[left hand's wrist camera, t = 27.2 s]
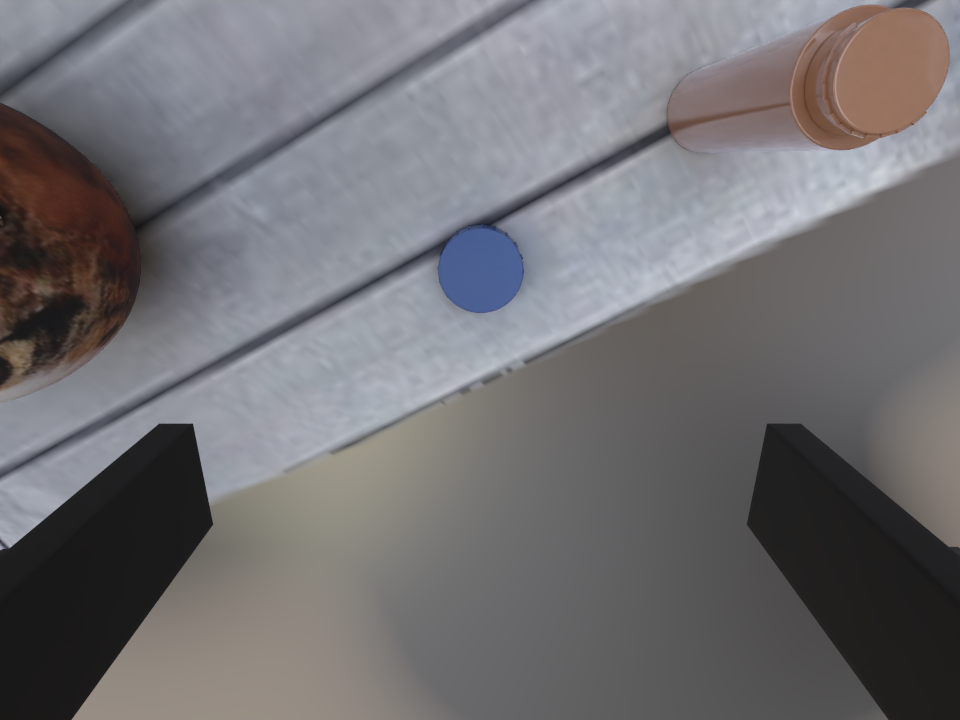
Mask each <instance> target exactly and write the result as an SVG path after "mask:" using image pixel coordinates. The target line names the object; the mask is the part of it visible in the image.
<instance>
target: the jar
mask: <svg viewBox="0 0 960 720" xmlns="http://www.w3.org/2000/svg"><path fill="white" fill-rule="evenodd" d="M949 57H950V55H949V45H948V40H947V37H946V34H945V32H944V30H943V28H942V27H941V25H940V24H939V23H938V21H937V20H935V19H934V18H933V17H932V16H931V15H929V14H927V13H926V12H923V11H921V10H918V9H913V8H895V9H891V8H889V7H885V6H881V5H861V6H857V7H853V8H850V9H847V10H845V11H842V12H840V13H837V14H835V15H832V16H830V17H827V18H825V19H822V20H820V21H817V22H815V23H812V24H810V25H807V26H805V27H802V28H800V29H797V30H795V31H792V32H790V33H787V34H785V35H782V36H780V37H777V38H775V39H772V40H770V41H767V42H765V43H762V44H760V45H757V46H755V47H752V48H750V49H747V50H745V51H742V52H740V53H737V54H735V55H732V56H730V57H727V58H725V59H722V60H720V61H717V62H715V63H712V64H710V65H707V66H705V67H702V68H700V69H697V70H695V71H693V72H691V73H690V74H688V75H687V76H686V77H685V78H684V79H682V80H681V82H680V83H679V84H678V85H677V87H676V88H675V89H674V91H673V93H672V95H671V98H670V100H669V104H668V109H667V122H668V127H669V130H670V133H671V134H672V136H673V138H674V139H675V141H676V142H677V143H678V144H679V145H681V146H682V147H683V148H685V149H687V150H689V151H692V152H699V153H710V152H767V151H823V150H850V149H854V148H859V147H861V146H864V145H867V144H869V143H871V142H873V141H875V140H877V139H878V138H882V137H885V136H889V135H892V134H895V133H899V132H901V131H902V130H904V129H906V128H907V127H909V126H911V125H914V124H915V123H916V122H917V121H918V120H919V119H920V118H922V117H923V116H924V115H925V114H926V113H927V112H926V110H927V109H928V108H929V107H930V105H931V104H932V103H933V101H934V100H935V99H936V97H937V96H938V94H939V92H940V90H941V88H942V86H943V84H944V81H945V78H946V75H947V72H948V67H949Z"/></svg>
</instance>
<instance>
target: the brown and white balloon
mask: <svg viewBox="0 0 960 720" xmlns="http://www.w3.org/2000/svg"><path fill="white" fill-rule="evenodd" d="M140 274H141V258H140V250H139V243H138V239H137V235H136V232H135V229H134V226H133V223H132V220H131V218H130V216H129V214H128V212H127V210H126V208H125V206H124V204H123V203H122V201H121V199H120V198H119V196H118V194H117V193H116V191H115V190H114V188H113V187H112V186H111V185H110V183H109V182H108V181H107V180H106V178H105V177H104V176H103V175H102V174H101V173H100V171H99V170H98V169H97V168H96V167H95V166H94V165H93V164H92V163H91V162H90V161H89V160H88V159H87V158H86V157H84V156H83V155H82V154H81V153H80V152H79V151H78V150H77V149H76V148H74V147H73V146H72V145H70V144H69V143H68V142H66V141H65V140H64V139H62V138H61V137H60V136H58V135H57V134H56V133H54V132H53V131H51V130H50V129H48V128H47V127H45V126H43V125H42V124H40V123H38V122H37V121H35V120H33V119H31V118H30V117H28V116H26V115H25V114H23V113H21V112H19V111H17V110H15V109H13V108H10V107H8V106H6V105H4V104H2V103H0V403H3V402H7V401H10V400H13V399H17V398H20V397H23V396H26V395H28V394H31V393H33V392H36V391H39V390H41V389H43V388H45V387H47V386H49V385H52V384H54V383H56V382H57V381H59V380H61V379H63V378H65V377H66V376H68V375H70V374H71V373H73V372H74V371H76V370H77V369H79V368H80V367H82V366H83V365H85V364H86V363H87V362H88V361H90V360H91V359H92V358H94V357H95V356H96V355H97V354H98V353H99V352H100V351H101V350H102V349H103V348H104V347H105V346H106V345H107V344H108V343H109V342H110V341H111V340H112V339H113V337H114V336H115V335H116V334H117V333H118V331H119V330H120V328H121V327H122V325H123V324H124V322H125V321H126V319H127V317H128V315H129V313H130V311H131V309H132V307H133V304H134V302H135V299H136V295H137V291H138V287H139V282H140Z"/></svg>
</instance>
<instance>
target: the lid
mask: <svg viewBox="0 0 960 720" xmlns="http://www.w3.org/2000/svg"><path fill="white" fill-rule="evenodd" d="M517 247H518V246H517V244H516V242H515V243H514V241H513V240H512V239H511V238H510V237H509V236H508V233H507V232H506V233H505V232H503V231H502V230H500V229H498V228H496V226H494V227H493V226H489V225H483V224H481V225H473V226H470V225H468V227H466V228H464V229H462V230H460V231H456V234H454V235H453V236H452V237H451V238H450V240H447V242H446V245H445V247H444V250H443V251H441V254H440V261H439V266H438V274H439V280H440V281H439V282H440V284H441V286H442V289H443V291H444V292H445V294H446V295H447V297H448V298H449V299H450V300H451V301H452V302H453V303H454V304H456V305H457V306H459V307H460V308H462V309H465V310H467V311H471V312H476V313H485V312H491V311H494V310H497V309H499V308H501V307H503V306H505V305H506V304H507V303H508V302H510V301H511V300H512V299H513V297H514V296H515V295H516V293H517V292H518V290H519V288H520V286H521V282H522V278H523V273H524V270H523V263H522V259H523V258H522V255H521V254H520V253H519V251H518V248H517Z"/></svg>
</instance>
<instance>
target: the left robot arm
mask: <svg viewBox="0 0 960 720" xmlns="http://www.w3.org/2000/svg"><path fill="white" fill-rule="evenodd" d="M212 525H213V522H212V517H211V512H210V507H209V502H208V497H207V492H206V487H205V482H204V477H203V472H202V467H201V462H200V457H199V452H198V447H197V442H196V437H195V432H194V427H193V424H158V425H157V426H156V427H155V428H154V429H152V430H151V431H150V432H149V433H148V434H146V435H145V436H144V437H143V438H142V439H140V440H139V441H138V442H137V443H136V444H134V445H133V446H132V447H131V448H130V449H128V450H127V451H126V452H125V453H124V454H122V455H121V456H120V457H119V458H118V459H116V460H115V461H114V462H113V463H112V464H110V465H109V466H108V467H107V468H106V469H104V470H103V471H102V472H101V473H100V474H98V475H97V476H96V477H95V478H94V479H92V480H91V481H90V482H89V483H88V484H86V485H85V486H84V487H83V488H82V489H80V490H79V491H78V492H77V493H76V494H74V495H73V496H72V497H71V498H70V499H68V500H67V501H66V502H65V503H64V504H62V505H61V506H60V507H59V508H58V509H56V510H55V511H54V512H53V513H52V514H50V515H49V516H48V517H47V518H46V519H44V520H43V521H42V522H41V523H40V524H38V525H37V526H36V527H35V528H34V529H32V530H31V531H30V532H29V533H28V534H26V535H25V536H24V537H23V538H22V539H20V540H19V541H18V542H17V543H16V544H14V545H13V546H12V547H11V548H10V549H2V550H0V720H72V718H73V717H74V715H75V714H76V713H77V711H78V710H79V709H80V707H81V706H82V704H83V703H84V702H85V700H86V699H87V697H88V696H89V695H90V693H91V692H92V691H93V689H94V688H95V686H96V685H97V684H98V682H99V681H100V680H101V678H102V677H103V675H104V674H105V673H106V671H107V670H108V669H109V667H110V666H111V664H112V663H113V662H114V660H115V659H116V658H117V656H118V655H119V653H120V652H121V651H122V649H123V648H124V647H125V645H126V644H127V642H128V641H129V640H130V638H131V637H132V636H133V634H134V633H135V631H136V630H137V629H138V627H139V626H140V624H141V623H142V622H143V620H144V619H145V618H146V616H147V615H148V613H149V612H150V611H151V609H152V608H153V607H154V605H155V604H156V602H157V601H158V600H159V598H160V597H161V595H162V594H163V593H164V591H165V590H166V589H167V587H168V586H169V585H170V583H171V582H172V580H173V579H174V578H175V576H176V575H177V573H178V572H179V571H180V569H181V568H182V566H183V565H184V564H185V562H186V561H187V560H188V558H189V557H190V556H191V554H192V553H193V551H194V550H195V549H196V547H197V546H198V544H199V543H200V542H201V540H202V539H203V538H204V536H205V535H206V534H207V532H208V531H209V529H210V528H211V527H212ZM747 525H748V527H749V528H750V529H751V531H752V532H753V533H754V535H755V536H756V538H757V539H758V540H759V542H760V543H761V545H762V546H763V547H764V549H765V550H766V551H767V553H768V554H769V556H770V557H771V558H772V560H773V561H774V562H775V564H776V565H777V567H778V568H779V569H780V571H781V572H782V573H783V575H784V576H785V578H786V579H787V580H788V582H789V583H790V584H791V586H792V587H793V589H794V590H795V591H796V593H797V594H798V595H799V597H800V598H801V600H802V601H803V602H804V604H805V605H806V607H807V608H808V609H809V611H810V612H811V613H812V615H813V616H814V618H815V619H816V620H817V622H818V623H819V624H820V626H821V627H822V629H823V630H824V631H825V633H826V634H827V636H828V637H829V638H830V640H831V641H832V642H833V644H834V645H835V647H836V648H837V649H838V651H839V652H840V653H841V655H842V656H843V658H844V659H845V660H846V662H847V663H848V664H849V666H850V667H851V668H852V670H853V671H854V673H855V674H856V675H857V677H858V678H859V680H860V681H861V682H862V684H863V685H864V686H865V688H866V689H867V691H868V692H869V693H870V695H871V696H872V698H873V699H874V700H875V702H876V703H877V704H878V706H879V707H880V708H881V710H882V711H883V713H884V714H885V715H886V717H887V718H888V720H960V548H958V547H948V546H947V545H946V544H944V543H943V542H942V541H941V540H939V539H938V538H937V537H936V536H935V535H934V534H932V533H931V532H930V531H929V530H928V529H926V528H925V527H924V526H923V525H922V524H920V523H919V522H918V521H917V520H916V519H914V518H913V517H912V516H911V515H910V514H908V513H907V512H906V511H905V510H904V509H902V508H901V507H900V506H899V505H898V504H896V503H895V502H894V501H893V500H892V499H890V498H889V497H888V496H887V495H886V494H884V493H883V492H882V491H881V490H880V489H878V488H877V487H876V486H875V485H873V484H872V483H871V482H870V481H869V480H868V479H866V478H865V477H864V476H863V475H862V474H860V473H859V472H858V471H857V470H856V469H854V468H853V467H852V466H851V465H850V464H848V463H847V462H846V461H845V460H844V459H842V458H841V457H840V456H839V455H838V454H836V453H835V452H834V451H833V450H832V449H830V448H829V447H828V446H827V445H826V444H824V443H823V442H822V441H821V440H820V439H818V438H817V437H816V436H815V435H814V434H812V433H811V432H810V431H809V430H807V429H806V428H805V427H804V426H803V425H802V424H767V427H766V432H765V437H764V442H763V447H762V452H761V457H760V462H759V467H758V472H757V477H756V482H755V487H754V492H753V497H752V502H751V507H750V512H749V517H748V522H747Z"/></svg>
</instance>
